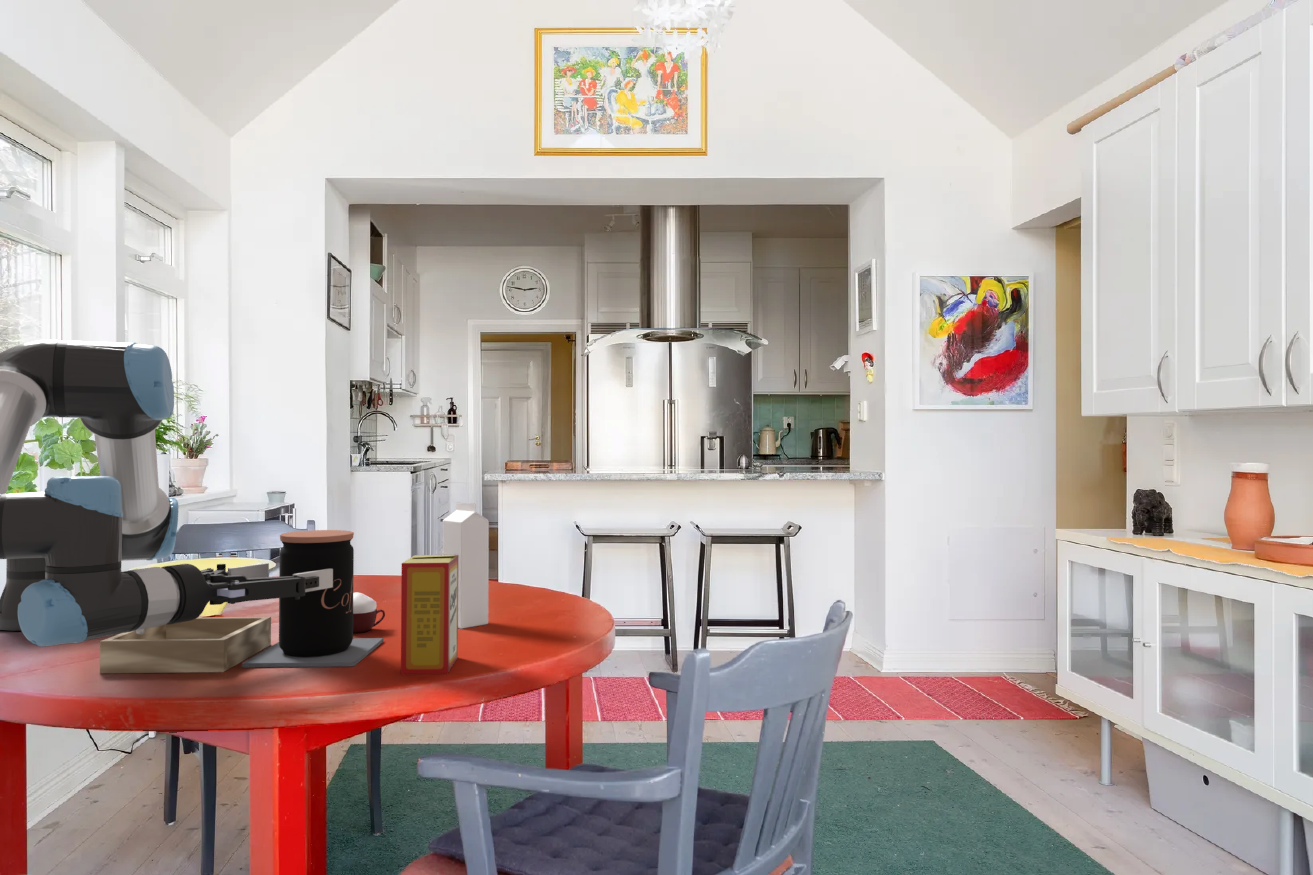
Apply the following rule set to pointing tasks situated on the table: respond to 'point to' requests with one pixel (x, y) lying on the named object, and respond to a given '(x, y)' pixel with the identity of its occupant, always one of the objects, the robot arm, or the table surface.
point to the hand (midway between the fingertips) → (298, 574)
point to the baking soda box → (429, 614)
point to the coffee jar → (317, 594)
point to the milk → (469, 561)
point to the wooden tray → (186, 646)
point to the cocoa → (364, 613)
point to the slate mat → (346, 658)
